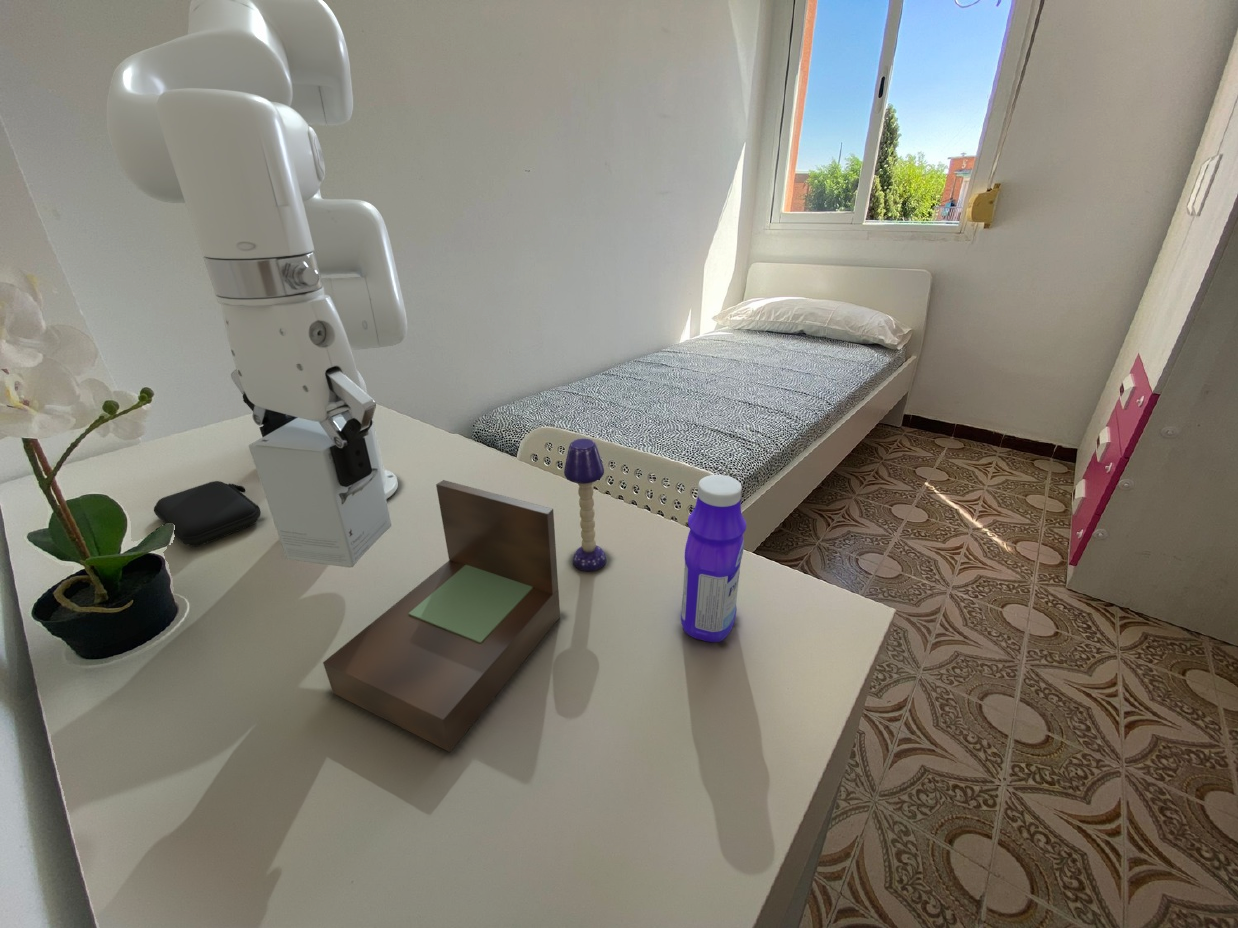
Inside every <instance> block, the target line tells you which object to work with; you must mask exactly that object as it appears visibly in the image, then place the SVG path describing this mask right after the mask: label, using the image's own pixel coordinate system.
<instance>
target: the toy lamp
mask: <svg viewBox="0 0 1238 928" xmlns="http://www.w3.org/2000/svg"><path fill="white" fill-rule="evenodd" d="M563 473H564V477H565V479H566V480H567V481H569V482H570V483H574V484H578V491H577V492H578V493H577V494H578V497H579V500H578V505H579V507H580V509H579V517H580V522H579V525H580V528H581V531H580V537H581V546H579V547H578V548H577V549H576V550H575V552H574V554H573V557H572V563H573V565H574V566H575V568H577V569H578V570H581V571H585V572H592V571H597V570H600V569H602V567H605V565H606V563H607V555H606V553H605V551H604V550H603V549H602V548H601V546H599V545H597V542H596V539H595V538H596V530H595V526H596V521H595V515H596V514H595V508H594V506H595V500H594V487H593V483H595V482H597V481H599V480H600V479H602V477H604V475H605V468H604V464H603V461H602V458H601V455H600V451H599V449H598V446H597V443H596V442H595V441H594V440H592V439H590V438H577V439H574V440H572V441H571V442H570V443H569V445H568V449H567V454H566V458H565V464H564V470H563Z"/></svg>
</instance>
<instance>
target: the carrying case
mask: <svg viewBox="0 0 1238 928" xmlns="http://www.w3.org/2000/svg"><path fill="white" fill-rule="evenodd" d="M246 490H247V489H246V488H245V487H244V486H243V485H238V484H235V483H225V482H223V481H221V480H215V481H214V480H213V481H209V482H207V483H204V484H200V485H197V486H194V487H191V488H188V489H185V490H182V491H179V492H176V493H173V494H170V495H166V496H164V497H162V498H160V499H158V500H157V501H156V504H155V505H154V506H153V512H154V515H155V516H156V517H157V518H158V519H159V520H160V521H161V522H162V523H163V525H165V524H166V523H173V524H174V525H175V530H174V534H173V535H174V536H175V537H176V538H177V540H178V541H179V542H180V543H182V544H184V545H188V546H191V547H199V546H203V545H205V544H208V543H211V542H213V541H215V540H218V539H221V538H223V537H226V536H229V535H231V534H233V533H236V532H238V531H239V532H240V531H241V530H244V529H246V528H249V527H251V526H253V525H255V524H256V523H257V521H258V520H259V519H260V517H261V513H262V512H261V511H262V510H261V509H260V507H259V505H257V504H256V503H255V502H253V501H252V500H251V499H250V498H249V497H247V496H246V495H245V494H244V493H246Z"/></svg>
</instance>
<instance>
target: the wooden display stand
mask: <svg viewBox="0 0 1238 928" xmlns="http://www.w3.org/2000/svg"><path fill="white" fill-rule="evenodd" d="M435 486H436V487H435V488H436V492H437V498H438V503H439V510H440V516H441V521H442V527H443V533H444V539H445V544H446V545H445V546H446V550H447V556H448V561H446V562H445V563H443V564H442V566H440V567H439V568H438V569H437V570H435V571H434V572H432V574H430V575H429V576H428V577H426V578H425V579H424V580H422V582H420V583H419V584H418V585H417V586H416V587H414V588H413V589H412V590H410V591H409V592H407V593H406V595H404V596H403V597H402V598H401V599H399V600H398V601H397V602H396V603H394V604H393V605H392V606H390V608H388V609H387V610H385V611H384V612H383V613H382V614H381V615H379V616H378V617H376V619H375V620H373V621H372V622H370V624H368V625H367V626H366V627H365V628H364V629H362V630H361V631H359V633H357V634H356V635H355V636H354V637H353V638H351V639H350V640H348V641H347V642H346V643H345V644H344V645H343V646H342V647H340V648H339V649H338V650H336V651H335V652H334V653H333V654H331V655H330V656H329V657H328V658H326V659H325V660H324V661H323V662H322V664H323V668H324V670H325V673H326V675H327V679H328V682H329V685H330V687H331V691H332V693H333V694H334V695H336V696H338V697H340V698H341V699H343V700H346V701H347V702H350V703H352V704H354V705H355V706H357V707H359V708H362V709H364V710H366V711H367V712H369V713H371V714H373V715H375V716H377V717H379V718H381V719H383V720H385V721H387V722H389V723H391V724H393V725H394V726H396V727H399V728H402V729H403V730H406V731H407V732H410V733H411V734H413V735H414V736H417V737H418V738H421V739H423V740H425V741H427V742H429V743H431V744H433V745H435V746H437V747H438V748H441V749H443V750H445V751H447V752H449V753H451V752H452V750H453V749H454V748H455V746H456V745H457V744H458V743H459V742H460V741H461V739H462V738H463V737H464V735H466V733H467V732H468V731H469V730H470V728H471V727H472V726H473V725H474V723H476V721H477V720H478V719H479V717H480V716H481V715H482V713H483V712H484V711H485V710H486V709H487V708H488V706H489V705H490V704H491V702H492V701H493V700H494V699H495V698H496V696H498V694H499V693H500V692H501V690H502V689H503V687H505V685H506V684H507V683H508V682H509V680H510V679H511V678H512V676H514V674H515V673H516V672H517V671H518V670H519V668H520V667H521V666H522V665H523V663H524V662H525V661H526V660H527V658H528V657H529V656H530V654H532V652H533V651H534V649H536V647H537V646H538V645H539V643H540V642H541V641H542V640H543V638H545V636H546V635H547V634H548V632H549V631H550V630H551V629H552V628H553V626H554V625H555V624H556V622H557V621H559V619H560V617H561V606H560V593H559V591H560V590H559V579H558V577H559V575H558V563H557V547H556V545H557V544H556V532H555V516H554V515H555V513H554V508H551V507H548V506H544V505H542V504H541V505H540V504H537V503H533V502H529V501H525V500H522V499H518V498H515V497H510V496H506V495H502V494H498V493H494V492H491V491H488V490H484V489H479V488H475V487H471V486H468V485H464V484H460V483H456V482H453V481H449V480H445V479H442V480H441V481H439V482H438V483H436V484H435Z"/></svg>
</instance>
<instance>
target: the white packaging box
mask: <svg viewBox="0 0 1238 928" xmlns="http://www.w3.org/2000/svg"><path fill="white" fill-rule="evenodd" d="M333 420H334V421H335V423H336V424H337V425H338V427H339V428H340V430H342V428H343V427H344V425H345V424H346V420H345V419H344V418H343V417H337V418H335V419H333ZM365 441H366V446H367V450H368V454H369V459H370V463H371V467H372V473H371V474H370V475H369V476H367V477H365V478H363V479H361V480H360V481H358V482H356V483H354V484H352V485H350V486H349V487H344V486H341V485H340V484H339V481H338V477H337V473H336V469H335V465H334V462H333V458H332V454H331V450H330V447H332V446H334V445H335V444H334V443H333V441H332V440H331V439H330V437H329V436H328V434H327V433H326V432H325V430H324V429H323V428H322V426H321V425H320V423H319V422H316V421H310V420H306V419H302V418H298V417H297V418H296V419H294V420H292V421H291V422H289V423H287V424H285V425H284V426H282V427H280V428H278V429H276V430H275V431H273V432H271V433H270V434H268V435H266V436H264V437H261V438H259V439H257V440H256V441H254V442H252V443H250V444H249V445H248V448H249V451H250V455H251V457H252V460H253V463H254V466H255V469H256V472H257V475H258V478H259V481H260V485H261V487H262V490H263V493H264V497H265V499H266V502H267V505H268V508H269V511H270V514H271V517H272V520H273V523H274V526H275V530H276V532H277V535H278V539H279V542H280V544H281V547H282V550H283V553H284V555H285V559H286V560H290V561H296V562H304V563H311V564H320V565H326V566H327V565H328V566H334V567H342V568H354V567H355V565H356V564H357V563H358V562H359V561H360V559H361V558H362V557H363V556H364V555H365V554H366V552H367V551H369V550H370V548H372V547H373V545H374V544H375V543H376V542H377V541H378V540H379V539H380V538H381V537H382V536H383V535H384V534H385V533H386V532H388V530H389V529H390V528H392V519H391V516H390V511H389V506H388V500H387V499H386V496H385V491H384V487H383V482H382V477H381V473H380V468H379V463H378V459H377V454H376V450H375V446H374V440H373V436H372V432H371V427H370V429H369V430H368V436H366V437H365Z"/></svg>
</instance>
